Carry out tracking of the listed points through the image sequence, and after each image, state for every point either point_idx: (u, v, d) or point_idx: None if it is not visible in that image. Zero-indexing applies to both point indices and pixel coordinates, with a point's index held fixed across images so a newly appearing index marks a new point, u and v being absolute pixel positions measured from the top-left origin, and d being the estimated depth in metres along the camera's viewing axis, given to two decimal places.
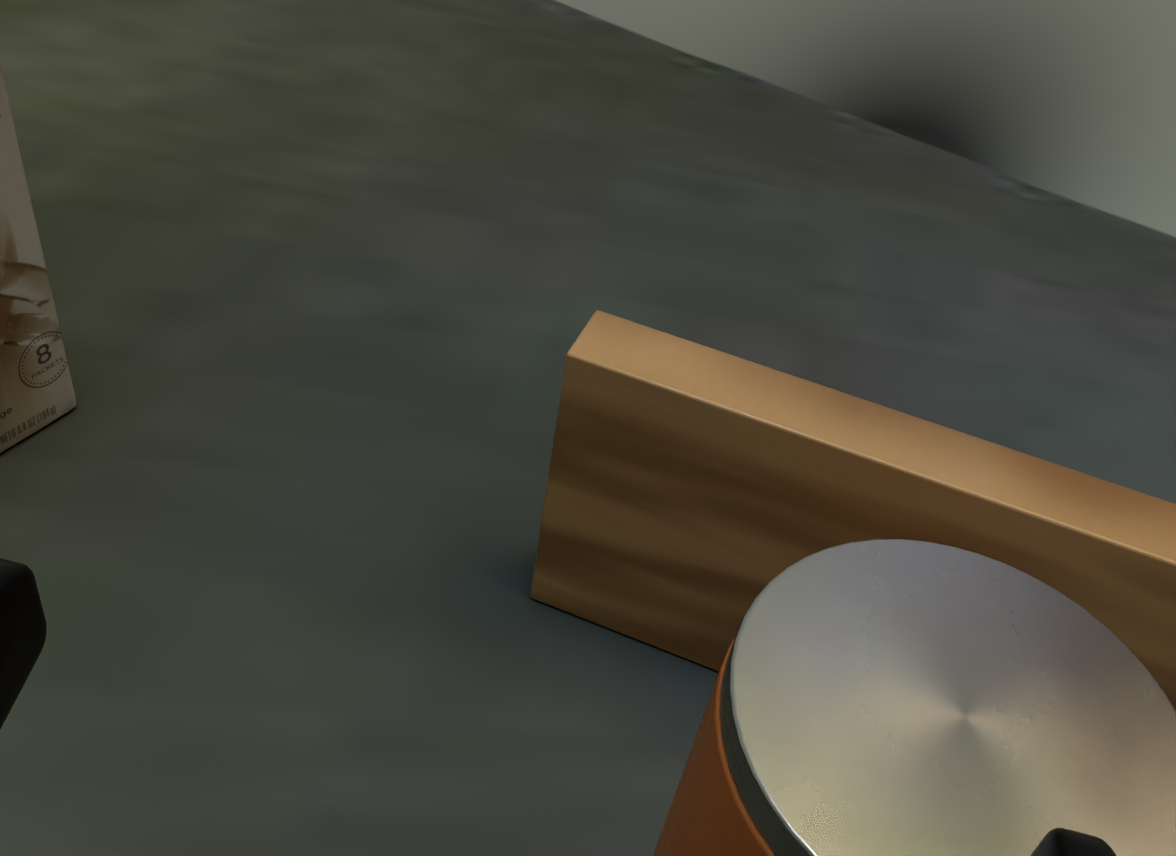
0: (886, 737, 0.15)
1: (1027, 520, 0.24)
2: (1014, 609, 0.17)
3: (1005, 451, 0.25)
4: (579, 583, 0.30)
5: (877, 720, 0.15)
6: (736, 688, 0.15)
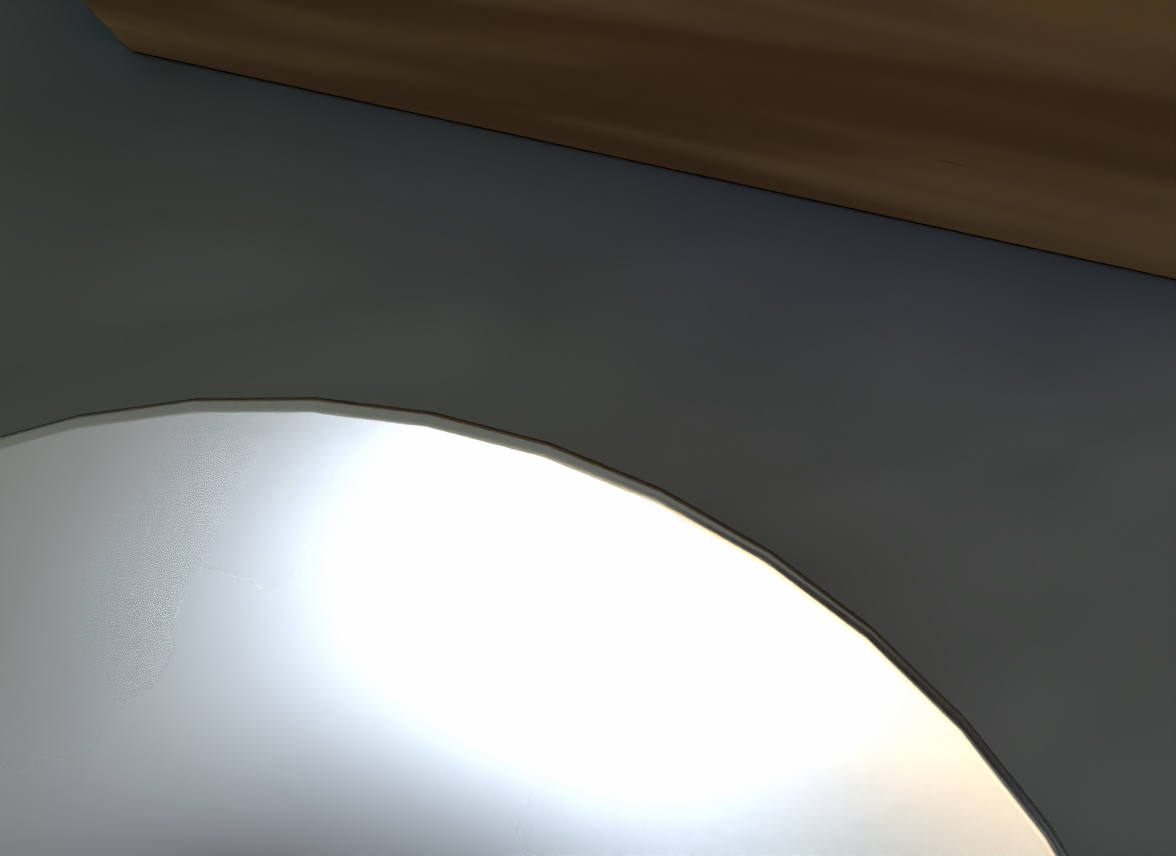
0: None
1: None
2: (543, 726, 0.04)
3: None
4: (172, 25, 0.16)
5: None
6: None
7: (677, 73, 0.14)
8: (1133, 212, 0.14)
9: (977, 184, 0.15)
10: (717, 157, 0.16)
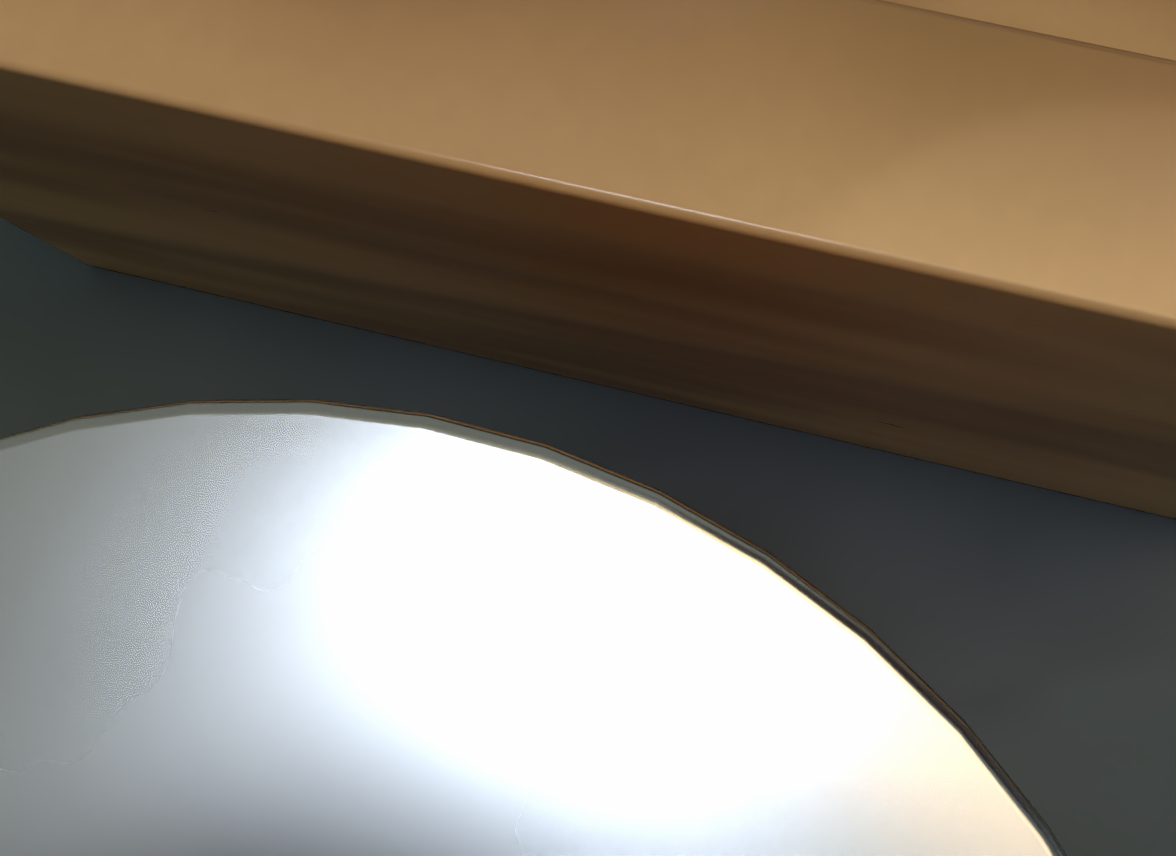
0: None
1: (858, 265, 0.08)
2: (540, 729, 0.04)
3: (819, 14, 0.08)
4: (124, 259, 0.16)
5: None
6: None
7: (615, 348, 0.14)
8: (1071, 470, 0.15)
9: (918, 437, 0.15)
10: (664, 390, 0.16)
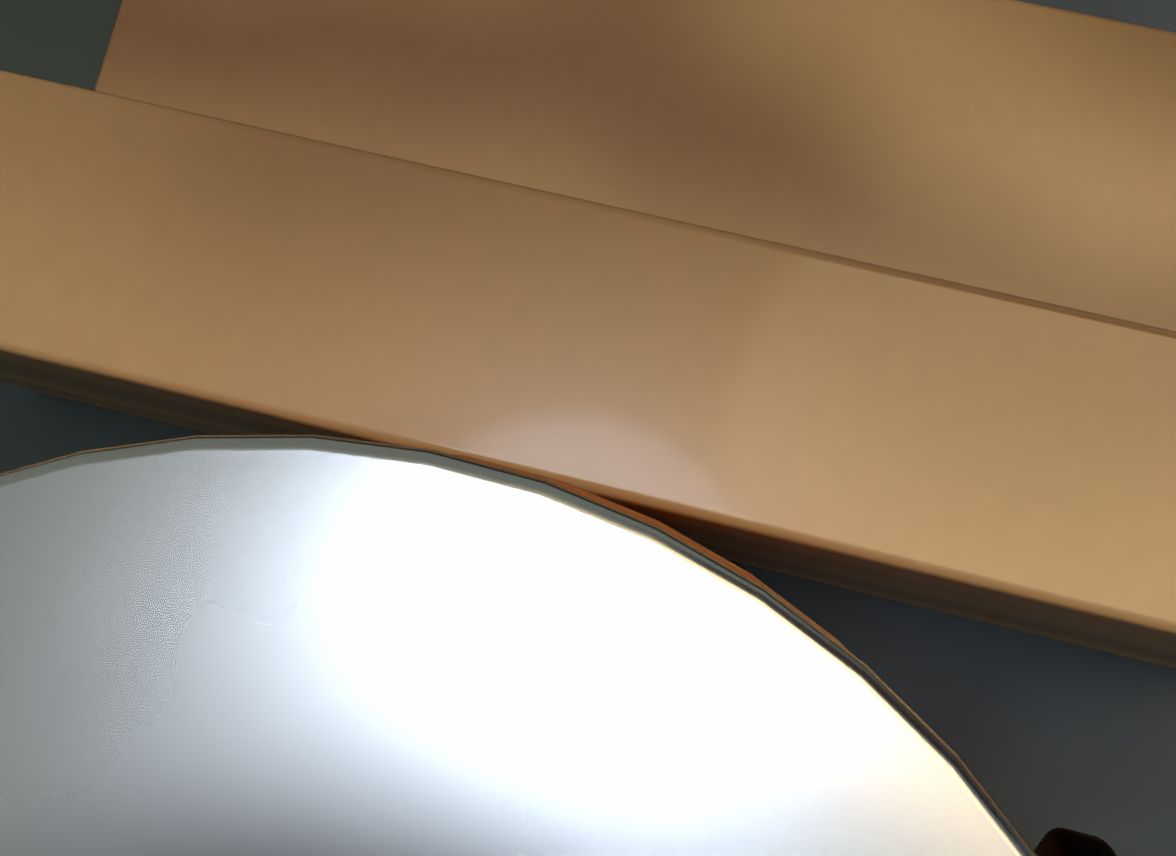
0: None
1: (807, 546, 0.08)
2: (539, 763, 0.04)
3: (767, 270, 0.08)
4: (67, 396, 0.15)
5: None
6: None
7: None
8: (1054, 635, 0.14)
9: (894, 596, 0.14)
10: None
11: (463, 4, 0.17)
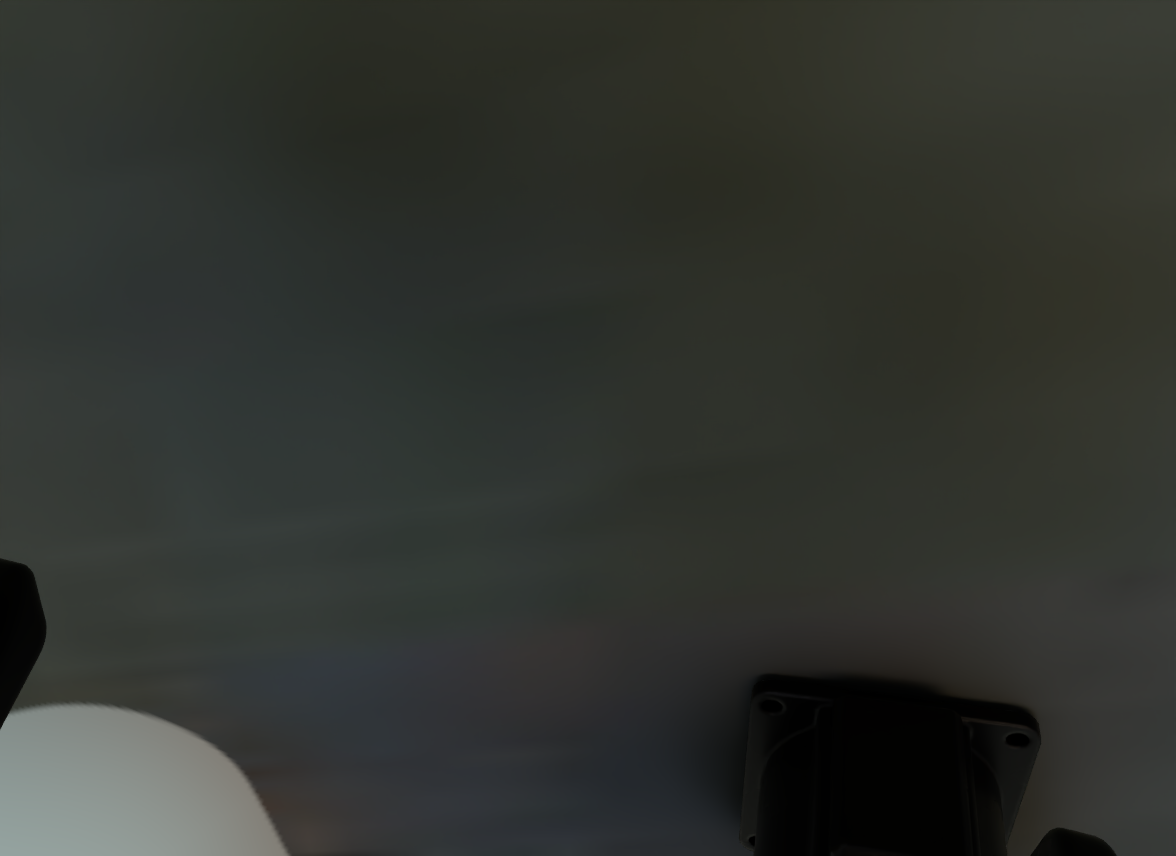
0: None
1: None
2: None
3: None
4: None
5: None
6: None
7: None
8: None
9: None
10: None
11: None
